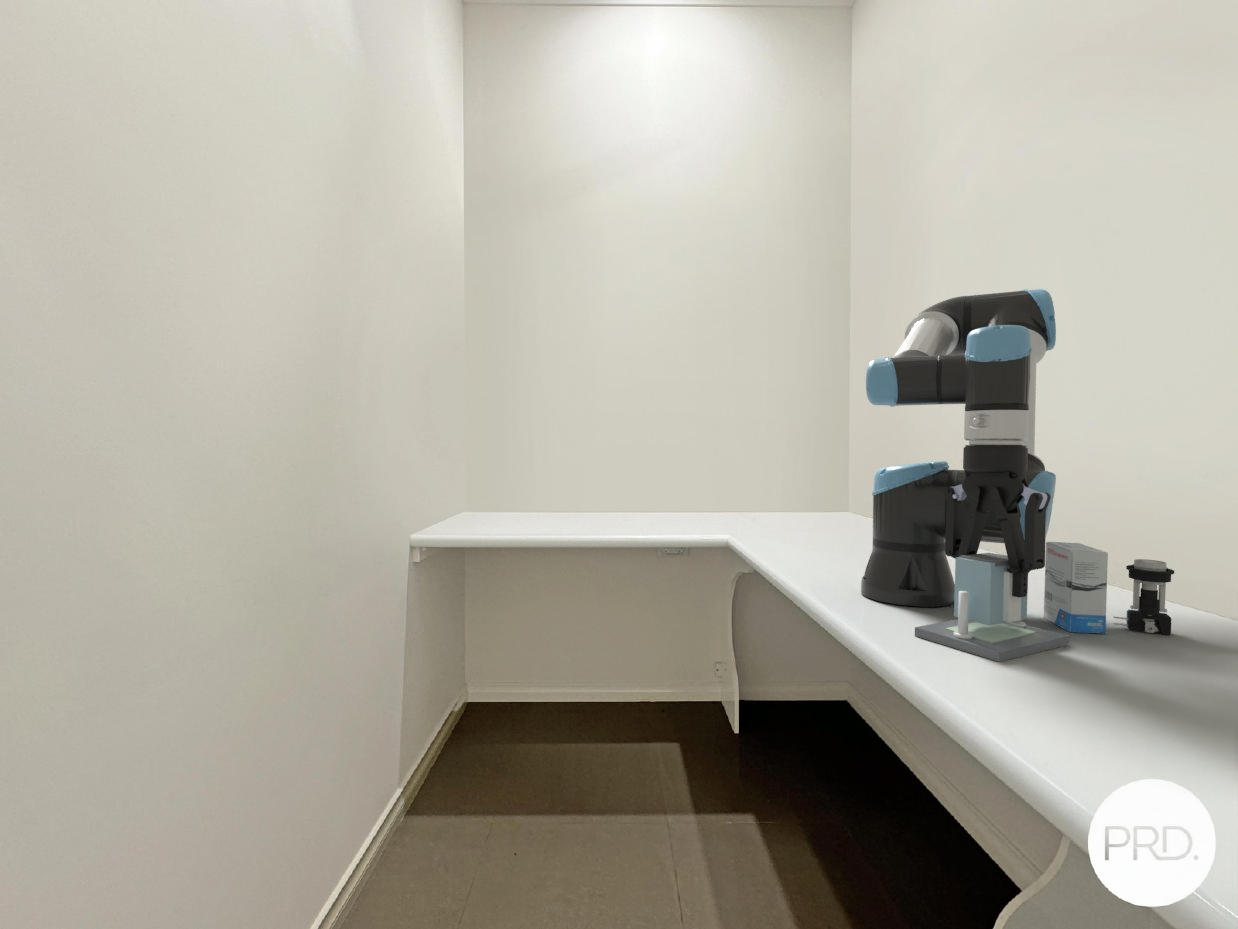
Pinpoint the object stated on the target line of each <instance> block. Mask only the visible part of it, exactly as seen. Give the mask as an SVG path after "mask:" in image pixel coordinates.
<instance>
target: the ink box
mask: <svg viewBox="0 0 1238 929" xmlns="http://www.w3.org/2000/svg"><path fill="white" fill-rule="evenodd" d="M1108 556H1109V553H1108V552H1107V551H1103V550H1101V549H1097V548H1096V547H1095V548H1094V547H1092V546H1088V545H1085V544H1083V543H1080V542H1064V541H1063V542H1061V541H1060V542H1059V541H1047V542H1046V541H1045V566H1044V571H1045V572H1044V597H1043V598H1044V599H1043V600H1044V601H1043V618H1045V619H1046V620H1048V621H1050V622H1051V623H1053V624H1055V625H1057V626H1058V627H1060V628H1061V629H1064V630H1065V631H1067V632H1069V633H1080V634H1081V633H1086V634H1101V635H1102V634H1103V635H1104V634H1106V631H1107V630H1106V627H1107V626H1106V625H1107V624H1106V623H1107V599H1108V598H1107V594H1108V591H1107V589H1108V559H1109V558H1108Z"/></svg>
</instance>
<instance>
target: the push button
mask: <svg viewBox="0 0 1238 929" xmlns="http://www.w3.org/2000/svg"><path fill="white" fill-rule="evenodd" d="M1133 561H1134V562H1133V563H1132V564H1128V565H1126V567H1125V568H1126V570H1127V571H1128V578H1129V579H1131V580H1133V591H1132V594H1133V595H1132V605H1130V606H1129V607H1130V609H1127V610H1126V616H1125V617H1124V616H1121V617H1120V616H1113V619H1118V620H1125V621H1126V622H1125V623H1120V622H1119V623H1118V622H1113V623H1112V624H1113V625H1116V626H1124V627H1127V629H1128V630H1129V631H1131V632H1138V633H1139V632H1140V633H1141V632H1142V633H1150V634H1156V635H1157V634H1160V635H1163V636H1170V635H1171V634H1172V617H1171V616H1170V615H1169V614H1168V609H1167V608H1166V590H1167V589H1166V585H1167V584H1166V583H1171V582H1172V575H1175V569H1172V568H1169V567H1168V566H1167V562H1165V561H1163V560H1154V559H1140V558H1139V559H1138V558H1137V559H1134V560H1133Z"/></svg>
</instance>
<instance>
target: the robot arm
mask: <svg viewBox="0 0 1238 929" xmlns="http://www.w3.org/2000/svg"><path fill="white" fill-rule="evenodd" d="M1055 314H1056V313H1055V307H1054V302H1053V298H1052V296H1051V293H1050V292H1048V290H1046V289H1043V288H1042V289H1041V288H1039V289H1038V288H1036V289H1028V288H1022V289H1020V290H1016V291H1006V292H1004V291H1003V292H993V293H985V294H984V293H983V294H973V295H962V296H955V297H951V298H948V299H945V300H942V301H939V302H937V303H935V304H932V305H931V306H928V307H927V308H925V309H924V310H922V311H920V312H919V313H918V314H917V315H916V316H915V317H913V319H911V321H910V322H909V324H908V325H907V326H906V330H905V332H904V340H903V342H902V343H901V345H900V347H899V348H898V350H896V352H895V354H894V355H893V357H890V356H887V357H883V358H876V359H873V360H870V362H869V363H868V365H867V368H866V373H865V374H866V375H865V389H866V390H865V391H866V392H865V393H866V396H867V400H868V402H869V403H870V404H872V405H873V406H889V407H892V408H893V407H899V406H900V407H901V406H902V407H903V406H928V405H929V406H930V405H931V406H934V405H965V406H964V419H963V420H964V423H963V424H964V425H963V427H964V428H963V430H964V431H963V439H964V440H965V441H968V444H965V446H964V447H963V453H962V454H963V455H962V457H963V460H962V463H963V464H962V469H950V465H949V463H948V461H947V460H944V461H930V462H917V463H908V464H901V465H889V466H884V467H881V468H879V469H878V470H877V471H875V475H874V480H873V491H872V498H873V499H872V502H873V504H872V549H871V552H870V556H869V559H868V561H867V564H866V567H865V571H864V574H863V576H862V578H861V582H860V584H861V585H860V592H861V593H860V594H862V595H863V596H864V597H865V598H869V599H871V600H875V601H878V602H882V603H887V604H891V605H898V606H906V607H907V606H908V607H922V608H923V607H927V608H930V607H931V608H933V607H935V608H936V607H937V608H938V607H947V606H952V605H954V598H955V579H954V576H953V573H952V570H951V566H950V563H949V560H948V558H947V557H951V558H952V559H955V560H956V558H958V557H959V556H962V555H972V554H978V550H979V549H980V548H979V547H980V544H981V542H983V543H995V544H1004V547H1005V550H1006V551H1005V553H1006V556H1007V557H1008V561H1009V566H1010V569H1007V571H1005V572H1004V588H1003V621H1005V622H1012V621H1018V620H1021V597H1026V595H1027V596H1028V593H1029V592H1028V591H1029V589H1027V588H1029V586H1028V585H1029V573H1030V572H1031V571H1035V570H1040V569H1043V568H1044V569H1045V564H1046V537H1047V535H1048V531H1049V527H1050V522H1051V519H1052V518H1051V516H1052V510H1053V503H1054V499H1055V498H1054V497H1055V492H1056V491H1055V490H1056V483H1057V481H1056V480H1057V476H1056V474H1055V473H1054V472H1051V471H1048V470H1046V465H1045V463H1044V462H1043V460H1042V459H1041V458H1040V457H1038V456H1037V455H1036V454H1035V446H1036V445H1035V444H1036V442H1035V436H1036V398H1037V397H1036V394H1037V392H1036V391H1037V364H1039V363H1040V361H1042V359H1043V358H1045V354H1046V352H1048V351H1051V350H1053V349H1054V348H1055V346H1056V340H1057V329H1056V328H1057V327H1056V325H1057V324H1056V319H1055V316H1056V315H1055ZM1021 621H1022V620H1021Z"/></svg>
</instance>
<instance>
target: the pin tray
mask: <svg viewBox="0 0 1238 929" xmlns="http://www.w3.org/2000/svg"><path fill="white" fill-rule="evenodd" d="M968 616H969V592H967V591H959V603H958V617H957V618H956V619H951V620H946V621H941V622H935V623H930V624H925V625H920V626H915V627H914V637H917V638H921V639H924V640H927V641H931V642H933V643H937V644H940V645H944V646H947V647H950V648H953V649H956V650H958V651H962V652H966V653H969V654H972V655H976V656H978V657H982V658H985V659H989V660H991V661H995V662H998V663H1000V662H1004V661H1007V660H1012V659H1016V658H1020V657H1021V658H1022V657H1024V656H1025V657H1026V656H1029V655H1032V654H1037V653H1040V652H1044V651H1048V650H1053V649H1056V648H1062V647H1066V646H1068V645H1070V635H1067V634H1064V633H1059V632H1055V631H1053V630H1048V629H1044V628H1039V627H1036V626H1031V625H1027V624H1026V622H1025V621H1022V620H1018V621H1012V622H1006V623H1000V624H995V625H985V624H981V623H978V622H974V621H970V620H968Z"/></svg>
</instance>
